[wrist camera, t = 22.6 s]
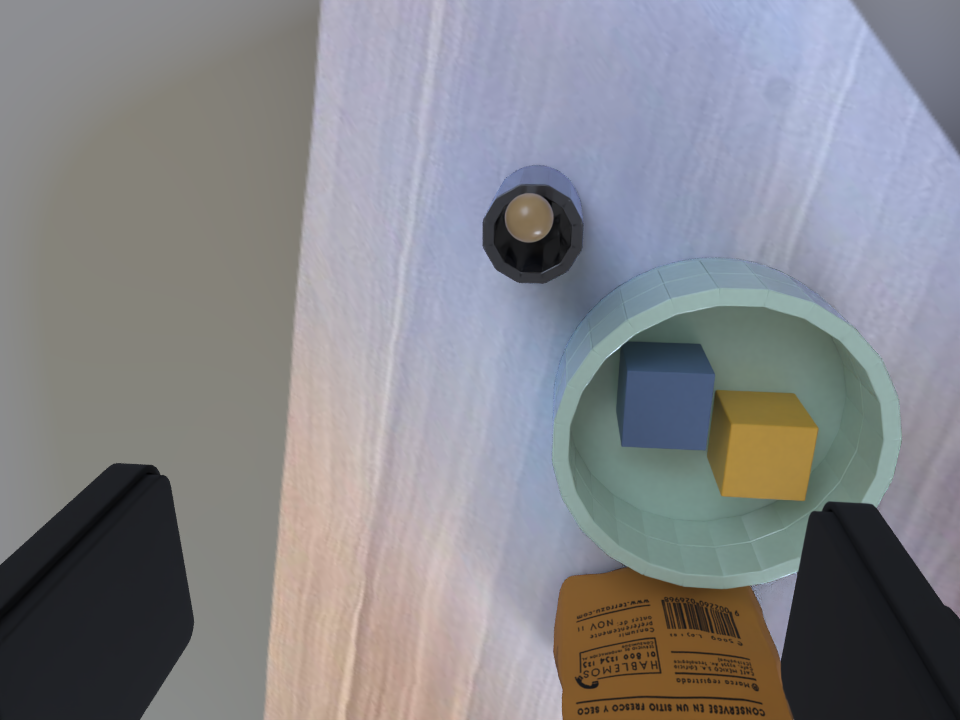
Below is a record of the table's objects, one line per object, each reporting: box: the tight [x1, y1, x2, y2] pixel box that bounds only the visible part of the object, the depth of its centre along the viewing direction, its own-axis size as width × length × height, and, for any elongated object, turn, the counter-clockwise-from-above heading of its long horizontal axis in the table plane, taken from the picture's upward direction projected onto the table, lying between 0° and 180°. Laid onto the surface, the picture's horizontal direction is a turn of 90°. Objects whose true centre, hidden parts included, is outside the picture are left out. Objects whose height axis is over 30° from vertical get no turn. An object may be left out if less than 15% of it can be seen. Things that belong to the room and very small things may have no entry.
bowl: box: [552, 258, 902, 589], centre depth 38 cm, size 16×16×6 cm
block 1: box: [616, 341, 715, 451], centre depth 37 cm, size 4×4×4 cm
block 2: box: [707, 390, 819, 501], centre depth 38 cm, size 4×4×4 cm
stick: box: [505, 193, 553, 242], centre depth 29 cm, size 1×1×16 cm
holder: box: [483, 165, 584, 284], centre depth 34 cm, size 4×4×6 cm
